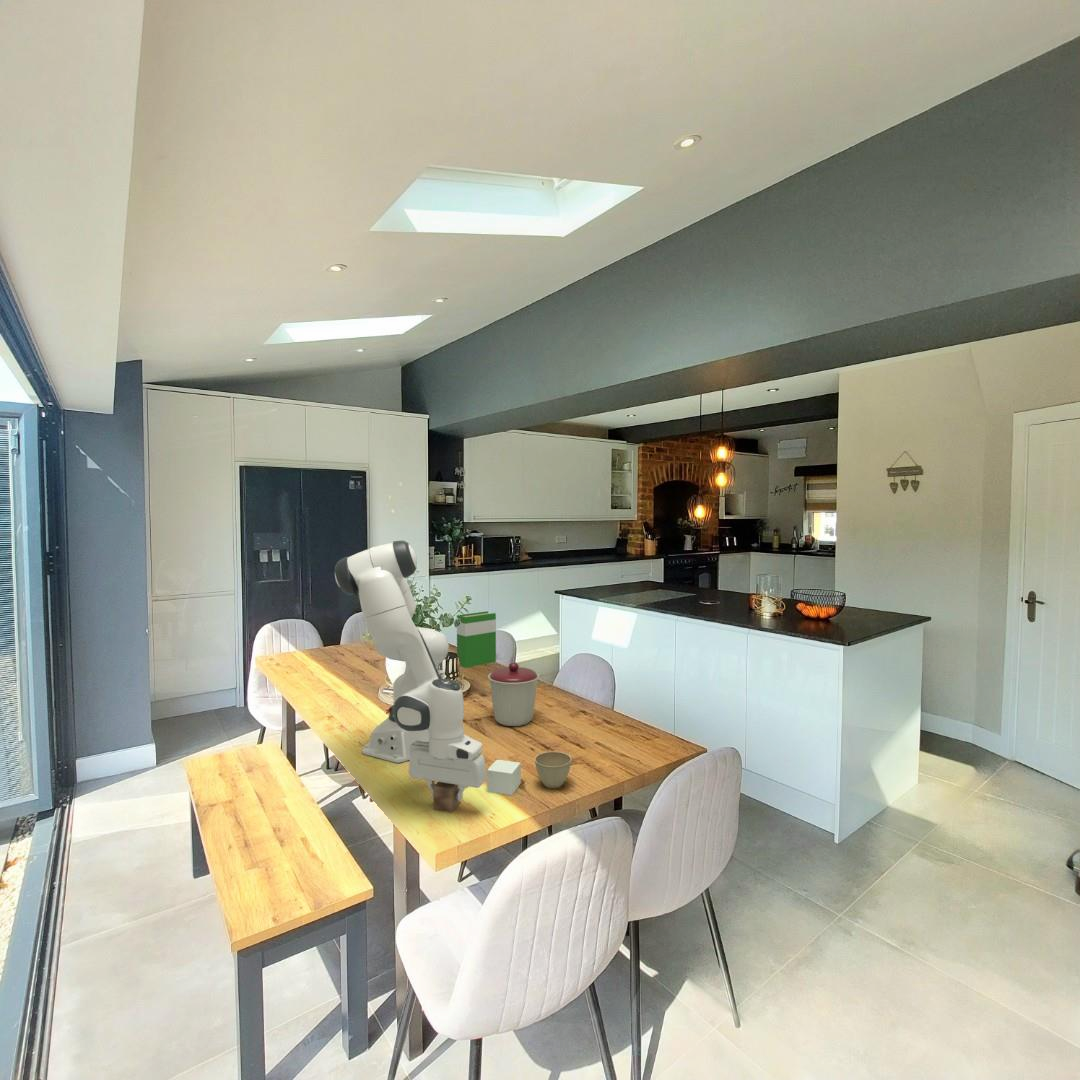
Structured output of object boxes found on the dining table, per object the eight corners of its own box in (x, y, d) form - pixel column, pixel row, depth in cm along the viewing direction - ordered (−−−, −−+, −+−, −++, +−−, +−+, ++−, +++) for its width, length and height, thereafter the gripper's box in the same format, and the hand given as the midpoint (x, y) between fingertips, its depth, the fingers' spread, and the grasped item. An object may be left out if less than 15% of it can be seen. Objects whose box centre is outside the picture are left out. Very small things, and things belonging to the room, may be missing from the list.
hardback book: (487, 658, 300) (487, 611, 299) (495, 661, 295) (495, 613, 293) (457, 664, 289) (456, 615, 288) (465, 667, 283) (465, 617, 282)
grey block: (487, 792, 160) (487, 770, 159) (496, 780, 166) (496, 759, 166) (511, 795, 158) (511, 773, 157) (520, 784, 164) (520, 762, 164)
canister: (496, 711, 223) (495, 655, 222) (543, 714, 219) (543, 657, 218) (481, 728, 205) (481, 667, 204) (533, 732, 201) (533, 670, 200)
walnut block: (433, 809, 150) (433, 786, 150) (442, 800, 155) (442, 777, 154) (451, 812, 149) (451, 789, 148) (460, 803, 153) (460, 780, 153)
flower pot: (540, 774, 170) (540, 749, 170) (575, 778, 167) (575, 753, 167) (530, 789, 161) (530, 763, 160) (566, 795, 158) (566, 768, 157)
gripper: (403, 744, 151) (404, 797, 152) (478, 754, 145) (478, 810, 145) (416, 735, 157) (416, 786, 158) (488, 744, 151) (488, 798, 151)
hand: (447, 798), depth 151 cm, fingers closed on walnut block, 5 cm apart
